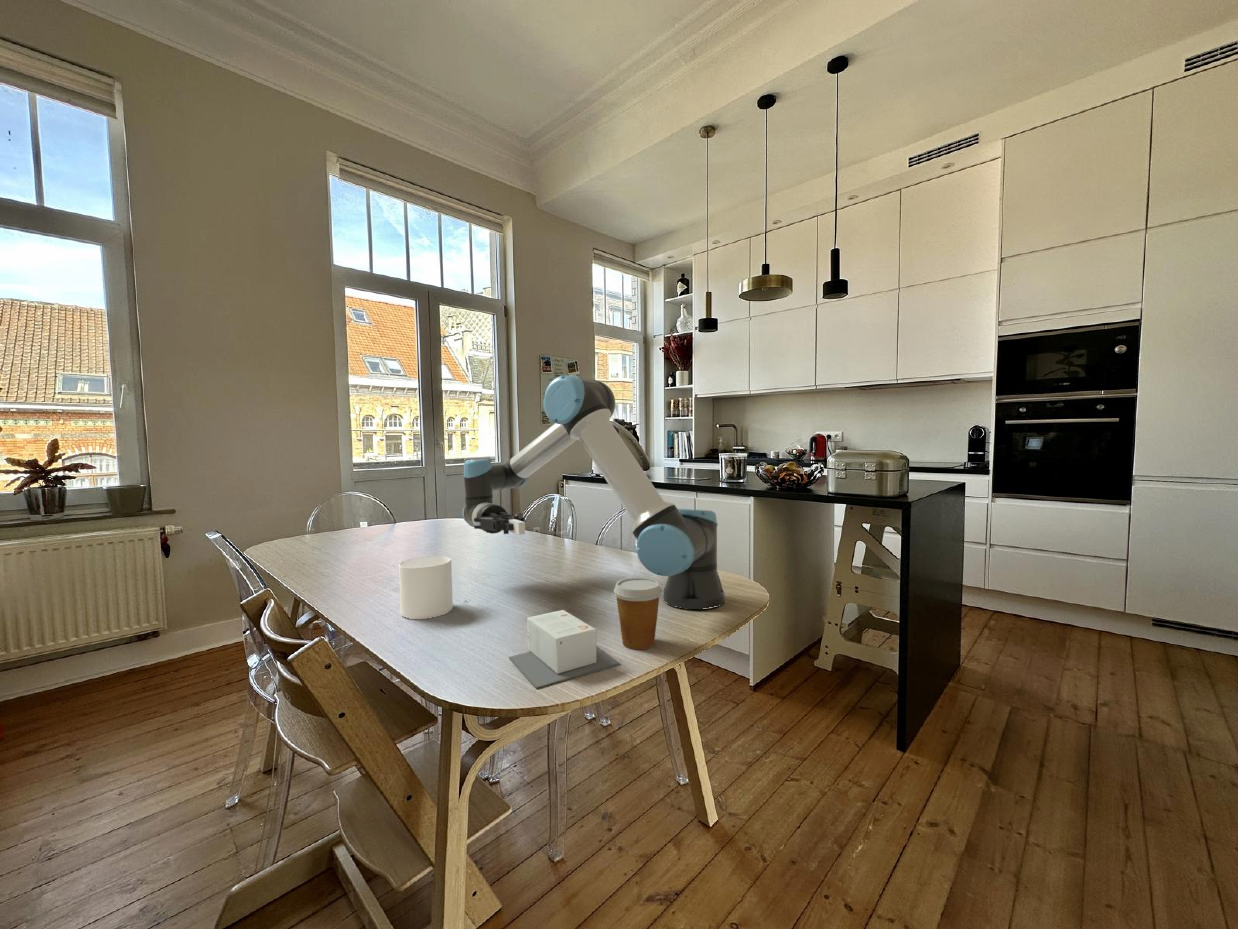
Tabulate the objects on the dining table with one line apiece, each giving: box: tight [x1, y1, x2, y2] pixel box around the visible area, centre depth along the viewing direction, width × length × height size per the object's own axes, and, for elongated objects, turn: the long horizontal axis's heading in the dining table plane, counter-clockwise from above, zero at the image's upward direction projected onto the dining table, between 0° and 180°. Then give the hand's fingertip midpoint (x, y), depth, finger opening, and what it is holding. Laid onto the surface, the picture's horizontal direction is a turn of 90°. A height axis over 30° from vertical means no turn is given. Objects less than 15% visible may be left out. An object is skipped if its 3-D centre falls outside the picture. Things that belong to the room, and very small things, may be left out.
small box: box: [526, 609, 597, 674], centre depth 91 cm, size 8×6×13 cm
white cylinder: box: [398, 555, 454, 620], centre depth 118 cm, size 12×12×12 cm
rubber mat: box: [508, 645, 621, 690], centre depth 89 cm, size 16×14×1 cm
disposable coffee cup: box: [613, 577, 663, 650], centre depth 97 cm, size 10×10×12 cm
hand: (521, 528), depth 110 cm, fingers closed
